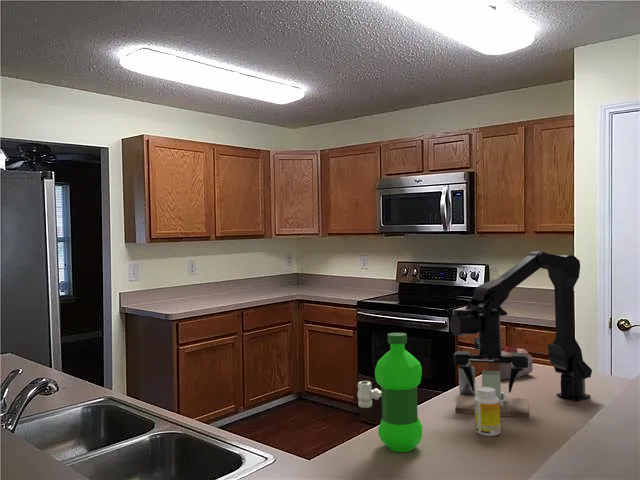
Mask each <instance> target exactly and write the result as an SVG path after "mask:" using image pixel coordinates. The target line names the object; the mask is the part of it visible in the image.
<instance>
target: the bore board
mask: <svg viewBox="0 0 640 480" xmlns="http://www.w3.org/2000/svg"><path fill="white" fill-rule="evenodd" d="M476 396H478V390H476ZM476 396H467V395H460V394H459V395H458V398H457V401H456V404H455V407H454V408H455V409H454V410H455V411H454V413H457V414H458V413H459V414H472V415H473V414H474V415H475V397H476ZM528 403H529V402H528V399H527V398H521V397H520V398H519V397H517V398H516V397H508V392H501V400H499V404H500V415H502V416H501V417H503V416H504V417H517V418H518V417H519V418H529V417H530V411H529V404H528Z"/></svg>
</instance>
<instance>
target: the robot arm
mask: <svg viewBox="0 0 640 480" xmlns="http://www.w3.org/2000/svg"><path fill="white" fill-rule="evenodd" d="M540 269H545V270H547V274H548V278H549V280H550V281H551V283H552V285H553V287H554V313H555V314H554V316H555V317H554V318H555V320H554V321H555V338H554V340H553V342H552V343H548V344H547V350H548V354H547V358H548V359H549V363H550V364H551V365H552V366H553V369H554V371H555V373H556V374H557V373H559V374H561V375H560V392H559V393H556V396H557V397H560V398H564V399H567V400H572V401H575V402H578V401H582V400H584V399H588V398H591V394H587V393H586V379H589V378H591V377H592V372H593V369H592V368H591V367H590V366H589V365H588V364H587V363H586V362H585V361H584V358H583V351H582V349H581V347H580V345H579V343H578V341H577V339H576V324H575V323H576V322H575V289H574V288H575V285H576V284H577V282H578V281H579V279H580V274H581V273H580V271H581V262H580V260H579V259H578V258H577V257H576V256H575V255H572V254H571V255H570V254H553V253H546V252H545V251H531V252H529V253H528V254H527V256H526V257H524V258H523V259H522V260H520V261H519V262H517V263H516V264H515V265H514V266H512V267H511V268H509V269H508V270H507V271H505V272H504V273H503V274H502V275H500V276H499V277H497V278H495V279H491V280H489V281H486V282H484V283H481V284H480V285H478V286H476V287H475V289H474V290H473V295H472V297H471V299H470V300H469V302H468V304H467V305H466V307H465V309H453V313H452V315H451V316H450V320H449V323H448V324H449V329H450V332H451V333H452V335H453V336H455V337H461V336H471V335H477V334H478V337H474V338H473V339H474V340H473V344H474V346H473V348H474V350H475V351H478V354H470V353H471V352H470V350H457V351H455V352H454V354H453V365H454V366H458V369H459V368H460V369H463V370H464V372H465V374H466V376H467V378H468V380H469V382H470V385H471V387H472V390H473V391H474V379H473V373H472V366H473V365H472V363H488V362H490V363H511V368H510V378H509V380H508V393H509V394H511V392H512V389H513V385H514V383H515V380H516V379H515V378H516V376H517V374H518V372H519V371H523V368H528V357H527V355H526V354H525V353H512V356H501V354H502V337H501V335H502V334H501V316H502V317H504V316H507V315H508V312H507V311H505V310H504V308H503V307H502V305H503V304H504V303H505V302H506V301H507V299H508V298H509V295H510V294H511V292H512V291H513V290H514V289H515V288H516V287H518V286H519V285H520V284H522V283H523V282H524V281H525V280H527V279H528V278H530V276H532V275H533V274H535V273H536V272H537V271H538V270H540ZM495 359H499V360H495Z"/></svg>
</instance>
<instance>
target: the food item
mask: <svg viewBox="0 0 640 480" xmlns="http://www.w3.org/2000/svg"><path fill="white" fill-rule="evenodd" d="M501 348H502V354H501V356H512V353H525V354H526V355H527V357H528V368H523V371H519V372H518V374H517V376H516V378H517V377H519V378H520V376H521V377H524V376H523V375H525V376H529V374H531V373H532V372H533V370H534V368H533V365H534V364H533V357H532V356H531V354H529V352H528V351H527V350H525V349H524V348H517V347H515V346H514V347H513V346H506V345H504V346H501ZM495 360H499V359H495ZM510 368H511V363H490V362H487V371H500V381H502V380H508V379H507V378H510ZM517 379H518V378H517Z"/></svg>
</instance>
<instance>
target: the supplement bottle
mask: <svg viewBox="0 0 640 480" xmlns="http://www.w3.org/2000/svg"><path fill="white" fill-rule="evenodd" d="M477 391H478V396H476V397H475V414H474V420H475V422H474V423H475V431H476V433H478V434H479V435H481V436H485V437H493V436H497V435H499V434H500V433H501V416H500V404H499V398H498V397H496V393H495V389H494V388H491V387H482V386H481V387H478V388H477Z"/></svg>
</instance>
